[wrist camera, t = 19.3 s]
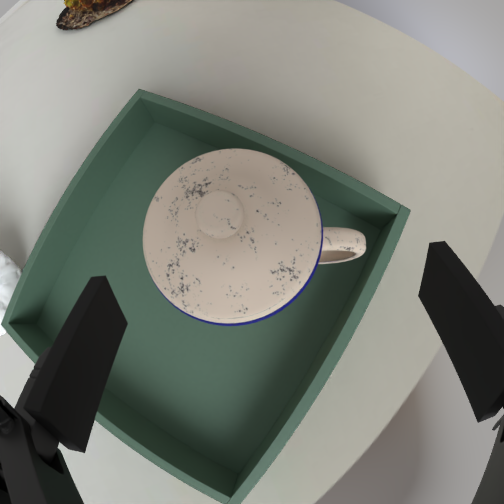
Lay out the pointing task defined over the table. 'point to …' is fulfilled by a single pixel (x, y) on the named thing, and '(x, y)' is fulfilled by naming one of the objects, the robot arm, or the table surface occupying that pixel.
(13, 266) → the bust
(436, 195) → the table surface
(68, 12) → the cactus
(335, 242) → the teacup with lid
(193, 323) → the tray
